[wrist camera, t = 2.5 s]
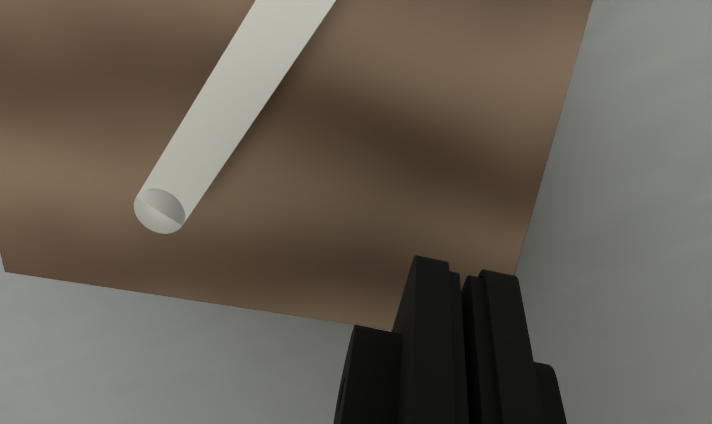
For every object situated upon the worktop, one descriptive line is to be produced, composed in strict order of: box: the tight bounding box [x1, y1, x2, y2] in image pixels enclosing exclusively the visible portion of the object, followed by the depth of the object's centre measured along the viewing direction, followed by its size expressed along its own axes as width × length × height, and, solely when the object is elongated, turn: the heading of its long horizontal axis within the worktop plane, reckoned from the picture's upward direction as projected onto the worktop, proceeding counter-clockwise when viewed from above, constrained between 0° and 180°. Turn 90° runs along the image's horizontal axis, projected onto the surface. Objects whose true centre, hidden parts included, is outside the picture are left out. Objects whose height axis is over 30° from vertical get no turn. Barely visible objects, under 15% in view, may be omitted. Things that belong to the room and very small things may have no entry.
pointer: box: [134, 0, 336, 234], centre depth 17 cm, size 16×3×3 cm, turn 144°
